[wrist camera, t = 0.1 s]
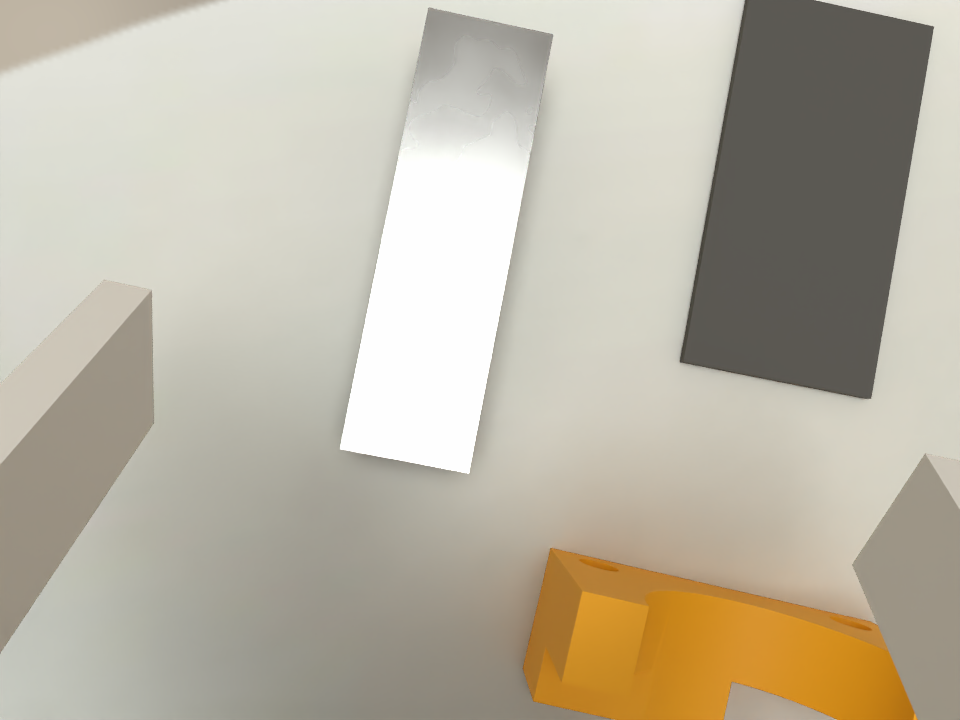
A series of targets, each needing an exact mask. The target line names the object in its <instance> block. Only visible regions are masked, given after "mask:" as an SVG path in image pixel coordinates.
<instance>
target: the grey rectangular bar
mask: <svg viewBox="0 0 960 720" xmlns="http://www.w3.org/2000/svg"><path fill="white" fill-rule="evenodd" d="M552 39H553V34H549V33H544V32H540V31H535V30H530V29H526V28H521V27H516V26H512V25H507V24H502V23H498V22H493V21H488V20H484V19H479V18H474V17H470V16H465V15H461V14H456V13H451V12H447V11H442V10H437V9H433V8H428V12H427V17H426V22H425V27H424V32H423V37H422V42H421V47H420V52H419V57H418V62H417V67H416V72H415V77H414V82H413V87H412V92H411V97H410V102H409V107H408V112H407V117H406V122H405V127H404V132H403V137H402V142H401V147H400V152H399V157H398V162H397V167H396V172H395V177H394V182H393V187H392V192H391V197H390V202H389V207H388V212H387V217H386V222H385V227H384V232H383V237H382V242H381V246H380V251H379V256H378V261H377V266H376V271H375V276H374V281H373V286H372V291H371V296H370V301H369V306H368V311H367V316H366V321H365V326H364V331H363V336H362V341H361V346H360V351H359V356H358V361H357V366H356V371H355V376H354V381H353V386H352V391H351V396H350V401H349V406H348V411H347V416H346V421H345V426H344V431H343V436H342V441H341V446H340V449H343V450H348V451H353V452H359V453H364V454H369V455H374V456H380V457H385V458H390V459H396V460H401V461H406V462H412V463H417V464H422V465H427V466H433V467H438V468H443V469H449V470H454V471H459V472H464V473H469V470H470V464H471V459H472V454H473V449H474V444H475V438H476V433H477V428H478V423H479V418H480V412H481V407H482V402H483V397H484V392H485V387H486V381H487V376H488V371H489V366H490V361H491V355H492V350H493V345H494V340H495V335H496V329H497V324H498V319H499V314H500V309H501V303H502V298H503V293H504V288H505V283H506V278H507V272H508V267H509V262H510V257H511V252H512V246H513V241H514V236H515V231H516V226H517V220H518V215H519V210H520V205H521V200H522V195H523V189H524V184H525V179H526V174H527V169H528V163H529V158H530V153H531V148H532V143H533V137H534V132H535V127H536V122H537V117H538V111H539V106H540V101H541V96H542V91H543V86H544V80H545V75H546V70H547V65H548V60H549V54H550V49H551V44H552Z"/></svg>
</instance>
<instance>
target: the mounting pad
mask: <svg viewBox="0 0 960 720" xmlns="http://www.w3.org/2000/svg"><path fill="white" fill-rule="evenodd" d="M933 29H934V27H933V26H929V25H924V24H920V23H915V22H911V21H906V20H902V19H897V18H893V17H888V16H883V15H879V14H874V13H870V12H865V11H861V10H856V9H852V8H847V7H843V6H838V5H834V4H829V3H825V2H820V1H815V0H745V6H744V11H743V17H742V23H741V28H740V34H739V39H738V45H737V50H736V56H735V61H734V67H733V72H732V78H731V83H730V89H729V94H728V100H727V105H726V111H725V116H724V122H723V127H722V133H721V139H720V144H719V150H718V155H717V161H716V166H715V172H714V177H713V183H712V188H711V194H710V199H709V205H708V210H707V216H706V221H705V227H704V232H703V238H702V244H701V249H700V255H699V260H698V266H697V271H696V277H695V282H694V288H693V293H692V299H691V304H690V310H689V315H688V321H687V326H686V332H685V337H684V343H683V348H682V354H681V360H680V362H683V363H688V364H693V365H698V366H703V367H708V368H713V369H718V370H723V371H728V372H733V373H738V374H743V375H748V376H753V377H758V378H763V379H769V380H774V381H779V382H784V383H789V384H794V385H799V386H804V387H809V388H814V389H819V390H824V391H829V392H834V393H839V394H844V395H849V396H854V397H859V398H865V399H871V396H872V390H873V384H874V378H875V373H876V367H877V361H878V355H879V349H880V343H881V337H882V331H883V325H884V319H885V313H886V307H887V302H888V296H889V290H890V284H891V278H892V272H893V266H894V260H895V254H896V248H897V242H898V236H899V230H900V225H901V219H902V213H903V207H904V201H905V195H906V189H907V183H908V177H909V171H910V165H911V159H912V153H913V148H914V142H915V136H916V130H917V124H918V118H919V112H920V106H921V100H922V94H923V88H924V82H925V76H926V71H927V65H928V59H929V53H930V47H931V41H932V35H933Z"/></svg>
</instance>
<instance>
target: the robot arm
mask: <svg viewBox="0 0 960 720" xmlns="http://www.w3.org/2000/svg"><path fill="white" fill-rule="evenodd" d="M153 424H154V399H153V337H152V290H150V289H145V288H140V287H135V286H131V285H126V284H121V283H117V282H112V281H107V280H103V281H102V282H101V283H100V284H99V285H98V286H97V287H96V288H95V289H94V290H93V291H92V292H91V293H90V294H89V295H88V296H87V297H86V298H85V299H84V300H83V301H82V302H81V303H80V304H79V305H78V306H77V307H76V308H75V309H74V311H73V312H72V313H71V314H70V315H69V316H68V317H67V318H66V319H65V320H64V321H63V322H62V323H61V324H60V325H59V326H58V327H57V328H56V329H55V330H54V331H53V332H52V333H51V334H50V335H49V336H48V337H47V338H46V339H45V340H44V341H43V342H42V343H41V344H40V345H39V346H38V347H37V348H36V349H35V350H34V351H33V352H32V353H31V354H30V355H29V356H28V357H27V358H26V359H25V360H24V361H23V362H22V363H21V364H20V365H19V366H18V367H17V368H16V369H15V370H14V371H13V372H12V373H11V374H10V375H9V376H8V377H7V378H6V379H5V380H4V381H3V382H2V383H1V384H0V653H1V651H2V650H3V648H4V647H5V645H6V644H7V642H8V641H9V639H10V638H11V636H12V635H13V633H14V632H15V630H16V629H17V627H18V626H19V624H20V623H21V621H22V620H23V618H24V617H25V615H26V614H27V612H28V611H29V609H30V608H31V606H32V605H33V603H34V602H35V600H36V599H37V597H38V596H39V594H40V593H41V591H42V590H43V588H44V587H45V585H46V584H47V582H48V581H49V579H50V578H51V576H52V575H53V573H54V572H55V570H56V569H57V567H58V566H59V564H60V563H61V561H62V560H63V558H64V557H65V555H66V554H67V552H68V551H69V549H70V548H71V546H72V545H73V543H74V542H75V540H76V539H77V537H78V536H79V534H80V533H81V531H82V530H83V528H84V527H85V525H86V524H87V522H88V521H89V519H90V518H91V516H92V515H93V513H94V512H95V510H96V509H97V507H98V506H99V504H100V503H101V501H102V500H103V498H104V497H105V495H106V494H107V492H108V491H109V489H110V488H111V486H112V485H113V483H114V482H115V480H116V479H117V477H118V476H119V474H120V473H121V471H122V470H123V468H124V467H125V465H126V464H127V463H128V461H129V460H130V458H131V457H132V455H133V454H134V452H135V451H136V449H137V448H138V446H139V445H140V443H141V442H142V440H143V439H144V437H145V436H146V434H147V433H148V431H149V430H150V428H151V427H152V425H153ZM852 565H853V567H854V570H855V572H856V575H857V577H858V579H859V582H860V584H861V586H862V589H863V591H864V594H865V596H866V598H867V601H868V603H869V605H870V608H871V610H872V613H873V615H874V617H875V620H876V622H877V624H878V627H879V629H880V632H881V634H882V636H883V639H884V641H885V643H886V646H887V648H888V650H889V653H890V655H891V658H892V660H893V662H894V665H895V667H896V669H897V672H898V674H899V677H900V679H901V681H902V684H903V686H904V688H905V691H906V693H907V696H908V698H909V700H910V703H911V705H912V707H913V710H914V712H915V715H916V717H917V719H918V720H960V461H958V460H953V459H949V458H944V457H939V456H934V455H930V454H925V455H924V456H923V458H922V459H921V461H920V462H919V464H918V465H917V467H916V468H915V470H914V471H913V473H912V474H911V476H910V477H909V479H908V481H907V482H906V484H905V485H904V487H903V488H902V490H901V491H900V493H899V494H898V496H897V497H896V499H895V500H894V502H893V503H892V505H891V506H890V508H889V509H888V511H887V512H886V514H885V515H884V517H883V519H882V520H881V522H880V523H879V525H878V526H877V528H876V529H875V531H874V532H873V534H872V535H871V537H870V538H869V540H868V541H867V543H866V544H865V546H864V547H863V549H862V550H861V552H860V554H859V555H858V557H857V558H856V560H855V561H854V563H853V564H852Z"/></svg>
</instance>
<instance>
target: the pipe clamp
mask: <svg viewBox="0 0 960 720" xmlns="http://www.w3.org/2000/svg"><path fill="white" fill-rule="evenodd" d="M523 670H524V674H525V677H526V680H527V683H528V686H529V689H530V693H531V696H532V699H533V701H534V702H538V703H543V704H547V705H552V706H556V707H561V708H565V709H570V710H574V711H579V712H583V713H588V714H592V715H597V716H601V717H606V718H610V719H615V720H724V715H725V710H726V706H727V701H728V697H729V692H730V687H731V683H732V682H735V683H739V684H743V685H746V686H750V687H753V688H756V689H759V690H763V691H766V692H769V693H772V694H775V695H778V696H781V697H783V698H786V699H789V700H792V701H794V702H797V703H799V704H802V705H805V706H807V707H809V708H812V709H814V710H817V711H819V712H821V713H824V714H826V715H828V716H830V717H833V718H835V719H837V720H918V719H917V717H916V715H915V712H914V710H913V707H912V705H911V703H910V700H909V698H908V696H907V693H906V691H905V688H904V686H903V684H902V681H901V679H900V677H899V674H898V672H897V669H896V667H895V665H894V662H893V660H892V658H891V655H890V653H889V650H888V648H887V646H886V643H885V641H884V639H883V636H882V634H881V632H880V629H879V627H878V625H876V624H874V623H872V622H870V621H866V620H861V619H857V618H853V617H848V616H844V615H840V614H835V613H831V612H827V611H822V610H818V609H814V608H809V607H805V606H800V605H796V604H792V603H787V602H783V601H779V600H774V599H770V598H766V597H761V596H757V595H753V594H748V593H744V592H740V591H735V590H731V589H727V588H722V587H718V586H714V585H709V584H705V583H701V582H696V581H692V580H688V579H683V578H679V577H675V576H670V575H666V574H662V573H657V572H653V571H649V570H644V569H640V568H636V567H631V566H627V565H623V564H618V563H614V562H610V561H605V560H601V559H597V558H592V557H588V556H584V555H579V554H575V553H571V552H566V551H562V550H558V549H553V548H550V553H549V557H548V561H547V566H546V570H545V574H544V579H543V583H542V588H541V592H540V596H539V601H538V605H537V609H536V614H535V618H534V622H533V627H532V631H531V635H530V640H529V644H528V648H527V653H526V657H525V661H524V666H523Z"/></svg>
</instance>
